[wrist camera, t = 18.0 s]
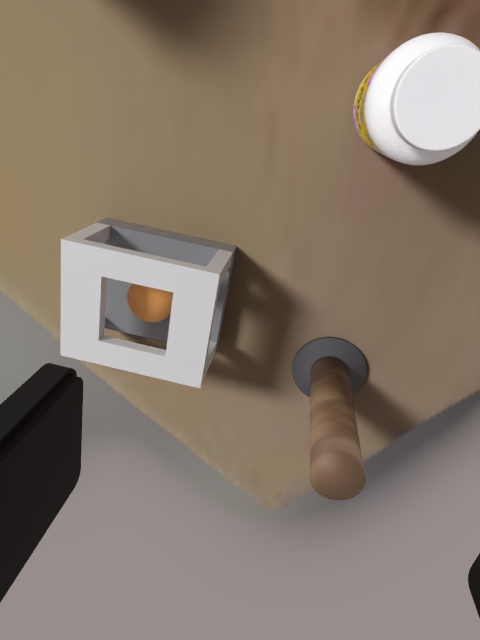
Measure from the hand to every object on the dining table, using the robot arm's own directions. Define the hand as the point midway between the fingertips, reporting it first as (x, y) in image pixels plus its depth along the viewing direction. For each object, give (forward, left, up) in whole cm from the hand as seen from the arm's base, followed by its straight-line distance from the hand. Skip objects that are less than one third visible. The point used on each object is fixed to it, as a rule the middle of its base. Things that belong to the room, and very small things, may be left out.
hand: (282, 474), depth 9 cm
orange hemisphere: (+11, +9, -28) cm, 31 cm away
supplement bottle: (-5, -9, -31) cm, 32 cm away
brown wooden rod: (-6, +14, -30) cm, 34 cm away
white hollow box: (+11, +9, -30) cm, 33 cm away
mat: (-6, +14, -30) cm, 34 cm away
